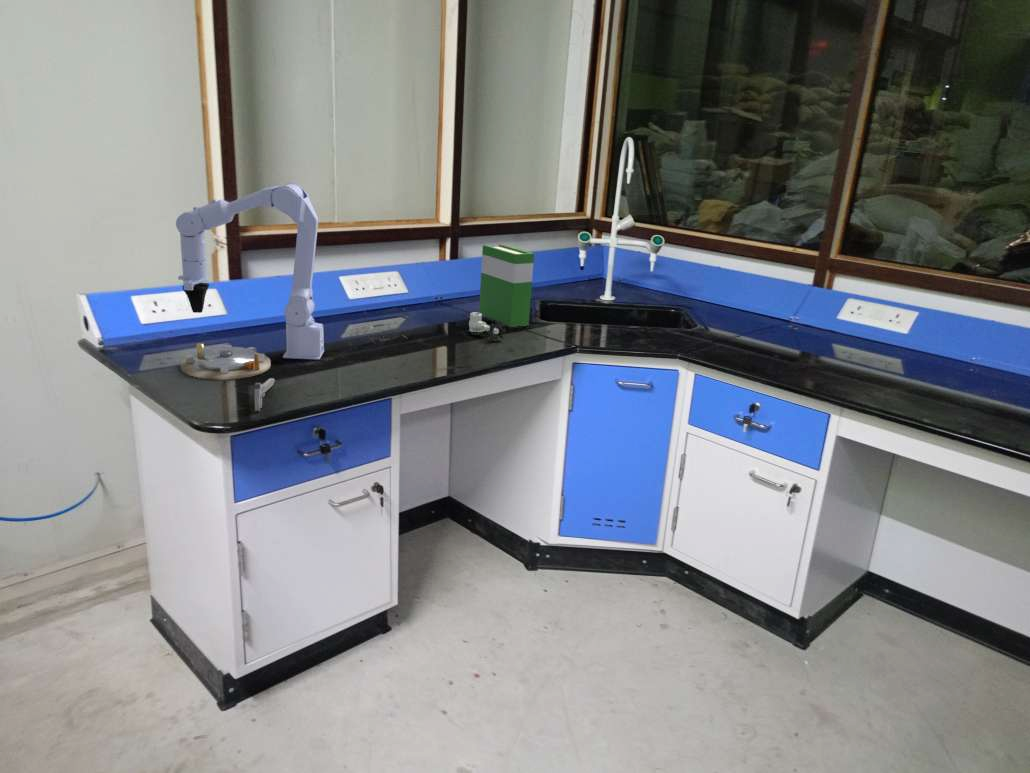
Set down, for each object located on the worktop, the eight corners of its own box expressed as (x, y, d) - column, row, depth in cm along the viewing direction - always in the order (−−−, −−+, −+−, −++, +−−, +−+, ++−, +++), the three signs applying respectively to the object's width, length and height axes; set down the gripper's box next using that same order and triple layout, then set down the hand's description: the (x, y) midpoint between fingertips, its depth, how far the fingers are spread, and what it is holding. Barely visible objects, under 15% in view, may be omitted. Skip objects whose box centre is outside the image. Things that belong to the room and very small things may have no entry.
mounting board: (278, 355, 201) (278, 337, 200) (259, 381, 181) (258, 361, 180) (196, 351, 199) (195, 333, 198) (168, 377, 179) (166, 357, 178)
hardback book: (478, 316, 256) (482, 245, 248) (496, 314, 260) (501, 244, 253) (510, 329, 243) (515, 254, 235) (528, 327, 247) (534, 253, 240)
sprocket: (228, 346, 201) (227, 327, 200) (280, 359, 194) (279, 340, 192) (170, 362, 186) (168, 341, 184) (223, 377, 178) (222, 356, 177)
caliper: (260, 413, 164) (259, 386, 162) (254, 413, 164) (253, 385, 161) (275, 382, 183) (274, 357, 181) (270, 382, 183) (269, 357, 180)
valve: (462, 334, 234) (488, 343, 226) (463, 313, 232) (490, 322, 224) (478, 331, 239) (504, 340, 231) (479, 310, 236) (506, 319, 229)
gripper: (185, 253, 199) (189, 304, 203) (168, 264, 185) (173, 318, 190) (213, 255, 200) (216, 305, 204) (199, 265, 186) (202, 319, 191)
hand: (197, 312), depth 197 cm, fingers closed
